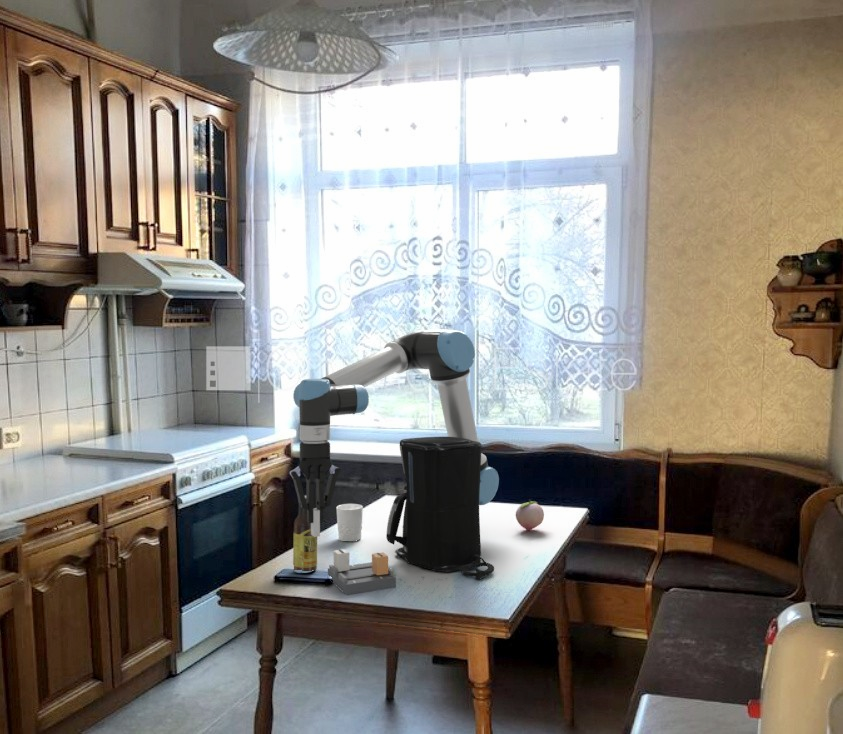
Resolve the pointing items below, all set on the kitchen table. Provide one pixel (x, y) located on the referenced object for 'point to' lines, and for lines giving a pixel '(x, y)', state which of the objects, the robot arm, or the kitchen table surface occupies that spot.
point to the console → (361, 579)
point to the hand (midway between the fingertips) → (315, 535)
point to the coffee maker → (440, 505)
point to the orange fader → (380, 563)
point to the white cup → (349, 521)
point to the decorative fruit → (529, 515)
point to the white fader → (341, 560)
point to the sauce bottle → (304, 543)
